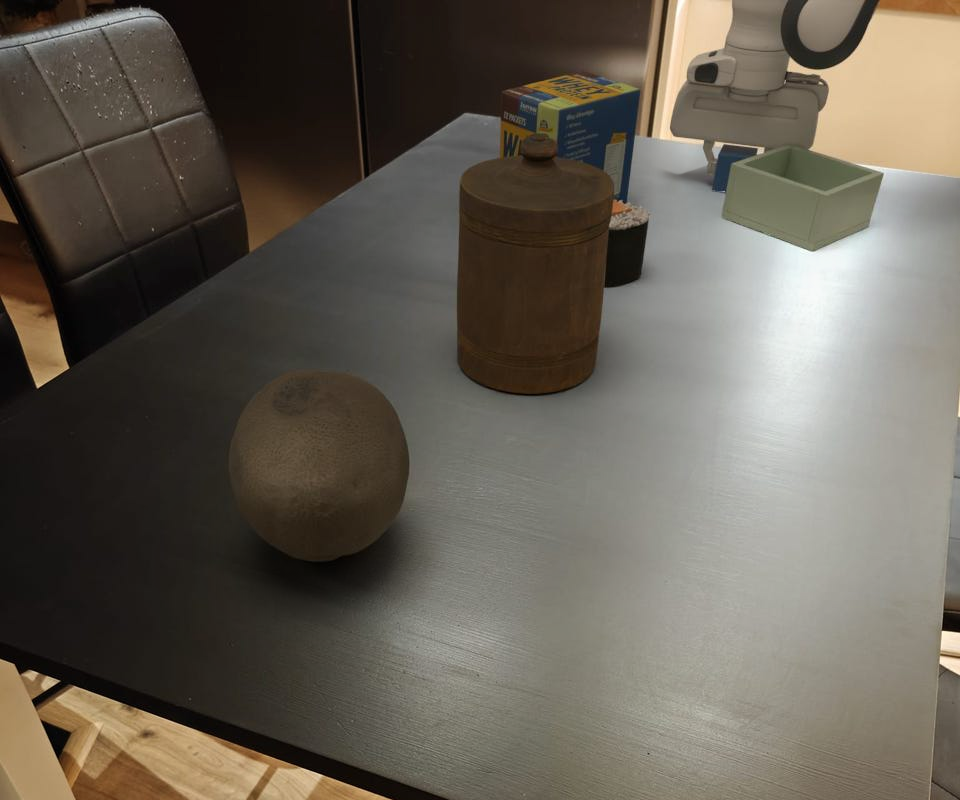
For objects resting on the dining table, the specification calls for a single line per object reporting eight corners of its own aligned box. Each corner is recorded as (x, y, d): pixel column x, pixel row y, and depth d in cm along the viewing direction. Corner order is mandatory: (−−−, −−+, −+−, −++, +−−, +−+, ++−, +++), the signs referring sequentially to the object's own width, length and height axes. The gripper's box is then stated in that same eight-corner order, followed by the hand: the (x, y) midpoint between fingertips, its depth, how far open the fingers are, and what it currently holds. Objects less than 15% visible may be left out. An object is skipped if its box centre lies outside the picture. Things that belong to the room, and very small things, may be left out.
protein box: (496, 217, 128) (499, 90, 117) (574, 191, 136) (584, 69, 125) (549, 240, 123) (558, 109, 112) (628, 212, 130) (643, 86, 119)
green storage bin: (868, 227, 128) (884, 172, 123) (812, 251, 121) (827, 195, 116) (777, 196, 135) (789, 143, 131) (721, 217, 129) (731, 163, 124)
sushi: (605, 292, 112) (612, 224, 106) (560, 268, 117) (565, 201, 111) (654, 276, 115) (663, 209, 110) (608, 253, 120) (616, 188, 114)
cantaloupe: (207, 562, 75) (165, 396, 65) (322, 478, 84) (301, 319, 73) (342, 631, 70) (321, 462, 59) (450, 534, 78) (449, 371, 68)
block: (750, 184, 139) (758, 148, 135) (746, 195, 136) (753, 158, 132) (717, 180, 140) (723, 143, 137) (711, 191, 137) (718, 154, 133)
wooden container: (620, 352, 101) (648, 130, 86) (549, 411, 92) (566, 175, 77) (506, 315, 107) (513, 101, 92) (429, 367, 98) (422, 140, 83)
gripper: (834, 70, 127) (807, 178, 137) (684, 55, 131) (669, 160, 141) (830, 82, 123) (803, 192, 132) (676, 66, 127) (661, 174, 137)
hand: (733, 176), depth 137 cm, fingers closed on block, 5 cm apart
